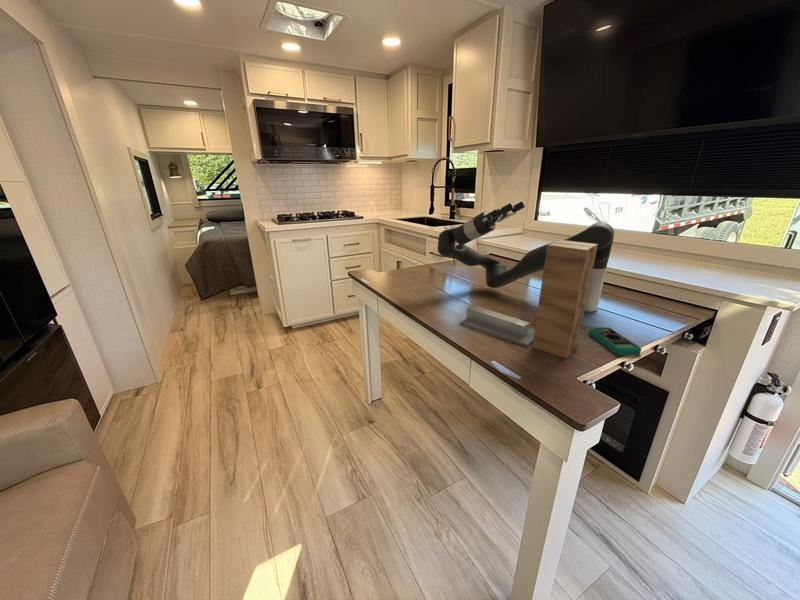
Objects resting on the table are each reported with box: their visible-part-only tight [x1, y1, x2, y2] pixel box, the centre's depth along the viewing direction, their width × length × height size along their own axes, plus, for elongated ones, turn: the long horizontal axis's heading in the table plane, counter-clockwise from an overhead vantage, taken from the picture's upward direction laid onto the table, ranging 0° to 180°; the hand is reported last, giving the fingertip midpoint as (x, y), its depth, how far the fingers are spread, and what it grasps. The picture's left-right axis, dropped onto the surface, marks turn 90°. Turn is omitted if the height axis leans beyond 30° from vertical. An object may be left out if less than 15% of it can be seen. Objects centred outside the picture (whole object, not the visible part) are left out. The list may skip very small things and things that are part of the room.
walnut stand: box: [531, 239, 598, 359], centre depth 95 cm, size 10×10×32 cm
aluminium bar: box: [465, 304, 531, 338], centre depth 113 cm, size 4×22×4 cm, turn 43°
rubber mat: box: [459, 317, 535, 348], centre depth 113 cm, size 12×25×1 cm, turn 46°
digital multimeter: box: [588, 326, 642, 357], centre depth 102 cm, size 7×15×3 cm, turn 4°
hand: (518, 204), depth 107 cm, fingers open, 8 cm apart
